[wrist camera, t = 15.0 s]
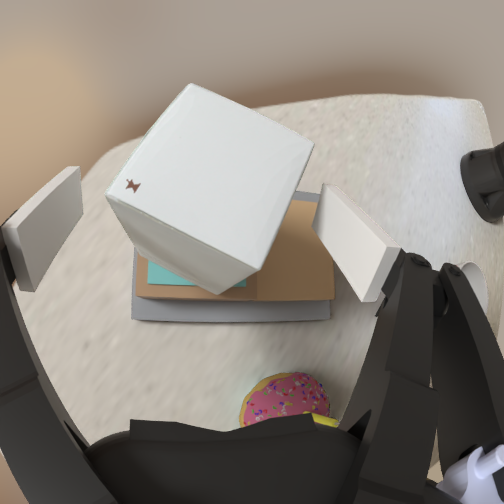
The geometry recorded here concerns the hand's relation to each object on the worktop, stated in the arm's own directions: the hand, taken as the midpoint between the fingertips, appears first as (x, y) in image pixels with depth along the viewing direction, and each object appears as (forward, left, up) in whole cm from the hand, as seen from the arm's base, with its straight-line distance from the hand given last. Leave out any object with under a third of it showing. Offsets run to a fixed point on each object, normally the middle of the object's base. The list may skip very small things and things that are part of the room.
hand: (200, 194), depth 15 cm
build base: (-4, 0, -15) cm, 16 cm away
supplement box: (0, 0, -10) cm, 10 cm away
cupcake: (-8, +16, -16) cm, 24 cm away
